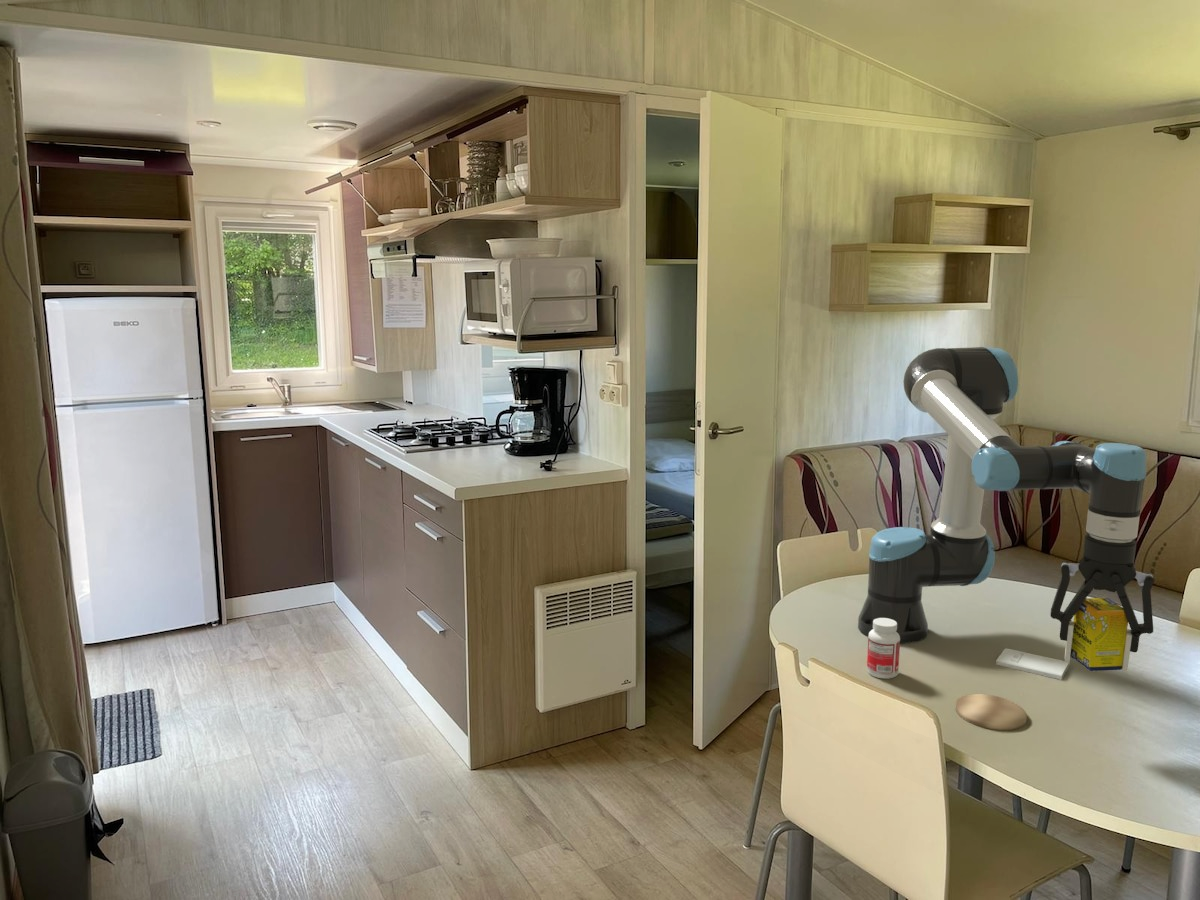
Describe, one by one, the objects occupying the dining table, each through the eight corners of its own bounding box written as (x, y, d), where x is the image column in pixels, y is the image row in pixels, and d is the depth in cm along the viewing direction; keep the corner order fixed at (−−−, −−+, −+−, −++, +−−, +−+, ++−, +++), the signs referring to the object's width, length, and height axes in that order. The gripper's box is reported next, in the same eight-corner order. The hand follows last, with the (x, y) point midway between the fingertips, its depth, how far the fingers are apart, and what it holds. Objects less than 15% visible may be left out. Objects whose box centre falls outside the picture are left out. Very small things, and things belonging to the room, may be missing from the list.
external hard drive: (1061, 682, 179) (995, 666, 186) (1068, 668, 185) (1005, 653, 193) (1062, 675, 179) (996, 659, 186) (1069, 661, 185) (1005, 646, 192)
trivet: (952, 720, 163) (952, 715, 162) (959, 694, 173) (959, 689, 173) (1024, 735, 157) (1025, 730, 157) (1027, 707, 168) (1027, 702, 167)
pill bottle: (882, 664, 186) (885, 614, 184) (904, 675, 181) (907, 624, 179) (860, 670, 184) (862, 619, 182) (881, 682, 178) (884, 629, 176)
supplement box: (1068, 656, 157) (1074, 598, 155) (1100, 655, 157) (1107, 596, 155) (1089, 672, 151) (1096, 611, 149) (1122, 670, 152) (1130, 609, 149)
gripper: (1041, 534, 150) (1028, 659, 155) (1187, 551, 141) (1168, 684, 146) (1042, 522, 157) (1029, 643, 162) (1181, 538, 148) (1164, 666, 152)
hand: (1095, 662), depth 154 cm, fingers closed on supplement box, 8 cm apart
